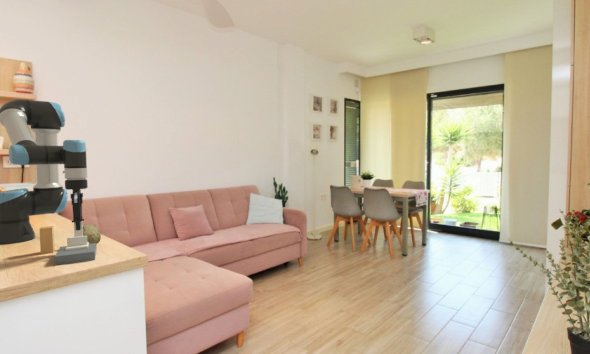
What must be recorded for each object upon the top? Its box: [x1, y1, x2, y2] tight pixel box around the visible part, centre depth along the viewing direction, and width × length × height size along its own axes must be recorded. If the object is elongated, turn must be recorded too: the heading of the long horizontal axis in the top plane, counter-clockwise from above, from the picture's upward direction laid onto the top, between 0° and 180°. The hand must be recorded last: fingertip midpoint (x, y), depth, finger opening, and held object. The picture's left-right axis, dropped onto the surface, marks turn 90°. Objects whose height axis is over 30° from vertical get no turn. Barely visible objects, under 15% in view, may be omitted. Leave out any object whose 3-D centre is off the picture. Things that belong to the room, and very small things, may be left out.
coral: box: [73, 222, 102, 245], centre depth 143 cm, size 10×10×10 cm
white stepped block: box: [66, 236, 89, 251], centre depth 129 cm, size 7×7×4 cm
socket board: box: [54, 243, 97, 266], centre depth 127 cm, size 15×12×3 cm
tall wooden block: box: [39, 225, 56, 255], centre depth 134 cm, size 4×4×10 cm
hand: (78, 237), depth 135 cm, fingers closed
